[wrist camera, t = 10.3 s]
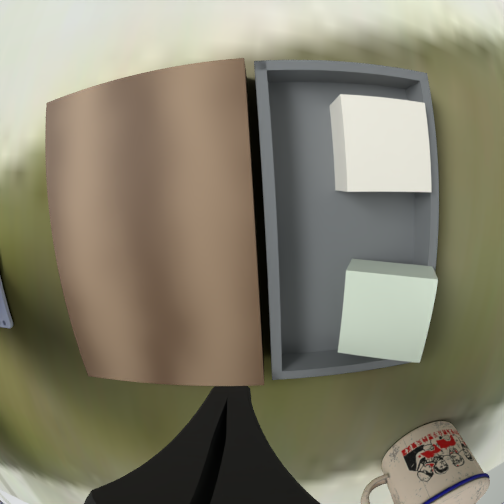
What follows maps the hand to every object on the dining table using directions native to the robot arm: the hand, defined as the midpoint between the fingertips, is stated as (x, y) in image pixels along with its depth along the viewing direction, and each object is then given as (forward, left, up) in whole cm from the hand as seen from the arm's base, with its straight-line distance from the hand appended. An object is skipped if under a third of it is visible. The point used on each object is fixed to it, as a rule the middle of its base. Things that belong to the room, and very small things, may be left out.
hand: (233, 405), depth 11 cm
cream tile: (+8, +10, -6) cm, 14 cm away
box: (+7, +6, -9) cm, 12 cm away
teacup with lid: (+15, -18, -9) cm, 25 cm away
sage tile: (+8, +1, -5) cm, 9 cm away
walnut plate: (-5, +6, -9) cm, 11 cm away
